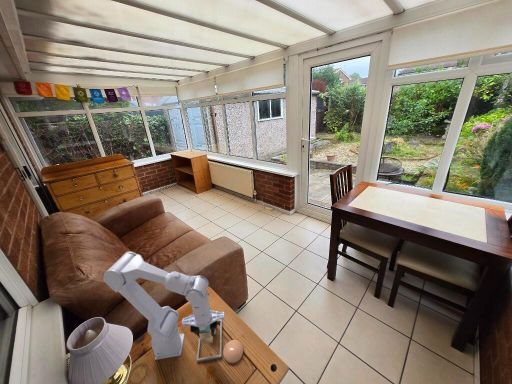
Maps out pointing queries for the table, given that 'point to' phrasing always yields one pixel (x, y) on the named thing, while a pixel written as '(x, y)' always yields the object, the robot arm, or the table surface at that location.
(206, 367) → the table surface
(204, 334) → the tan and teal block
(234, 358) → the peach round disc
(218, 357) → the open rectangular frame
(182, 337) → the robot arm
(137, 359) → the table surface
